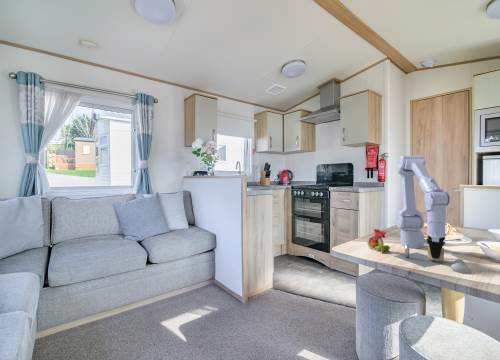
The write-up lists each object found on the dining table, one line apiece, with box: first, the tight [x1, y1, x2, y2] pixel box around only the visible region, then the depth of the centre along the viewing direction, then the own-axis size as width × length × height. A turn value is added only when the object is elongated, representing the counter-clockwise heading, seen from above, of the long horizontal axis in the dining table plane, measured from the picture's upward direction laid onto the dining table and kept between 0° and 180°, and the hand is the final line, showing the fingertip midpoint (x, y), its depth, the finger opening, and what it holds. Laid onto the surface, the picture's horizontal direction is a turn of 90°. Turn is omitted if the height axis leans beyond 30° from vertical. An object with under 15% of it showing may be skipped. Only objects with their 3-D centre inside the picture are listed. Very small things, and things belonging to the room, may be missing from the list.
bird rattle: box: [367, 228, 391, 254], centre depth 109 cm, size 6×11×9 cm
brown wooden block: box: [427, 245, 445, 261], centre depth 95 cm, size 5×5×4 cm
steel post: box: [404, 244, 410, 258], centre depth 98 cm, size 2×2×6 cm
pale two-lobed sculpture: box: [450, 258, 471, 274], centre depth 86 cm, size 4×8×5 cm
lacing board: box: [393, 252, 450, 268], centre depth 97 cm, size 14×13×1 cm
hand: (435, 256), depth 95 cm, fingers closed on brown wooden block, 5 cm apart
